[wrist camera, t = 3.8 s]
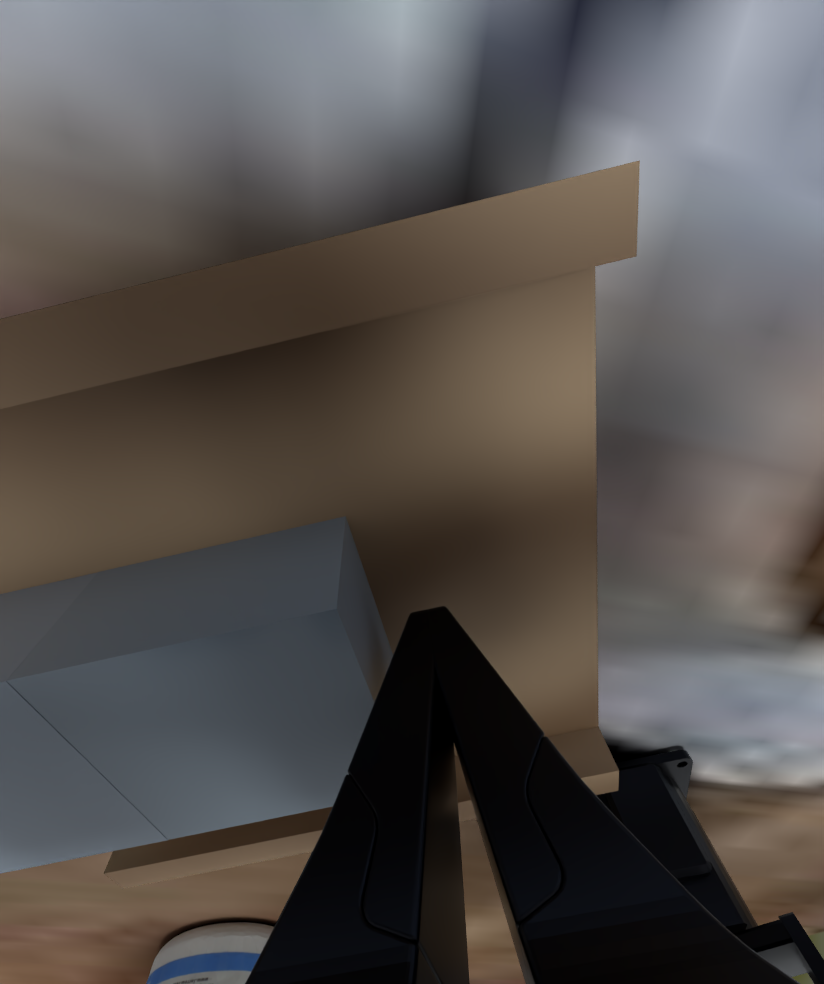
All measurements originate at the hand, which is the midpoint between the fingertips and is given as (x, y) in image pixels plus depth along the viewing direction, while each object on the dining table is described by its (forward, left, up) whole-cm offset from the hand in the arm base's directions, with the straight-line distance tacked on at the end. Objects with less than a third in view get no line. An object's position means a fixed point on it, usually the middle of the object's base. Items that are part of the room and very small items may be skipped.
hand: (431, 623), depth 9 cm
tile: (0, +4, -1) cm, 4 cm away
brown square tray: (0, +3, -5) cm, 6 cm away
